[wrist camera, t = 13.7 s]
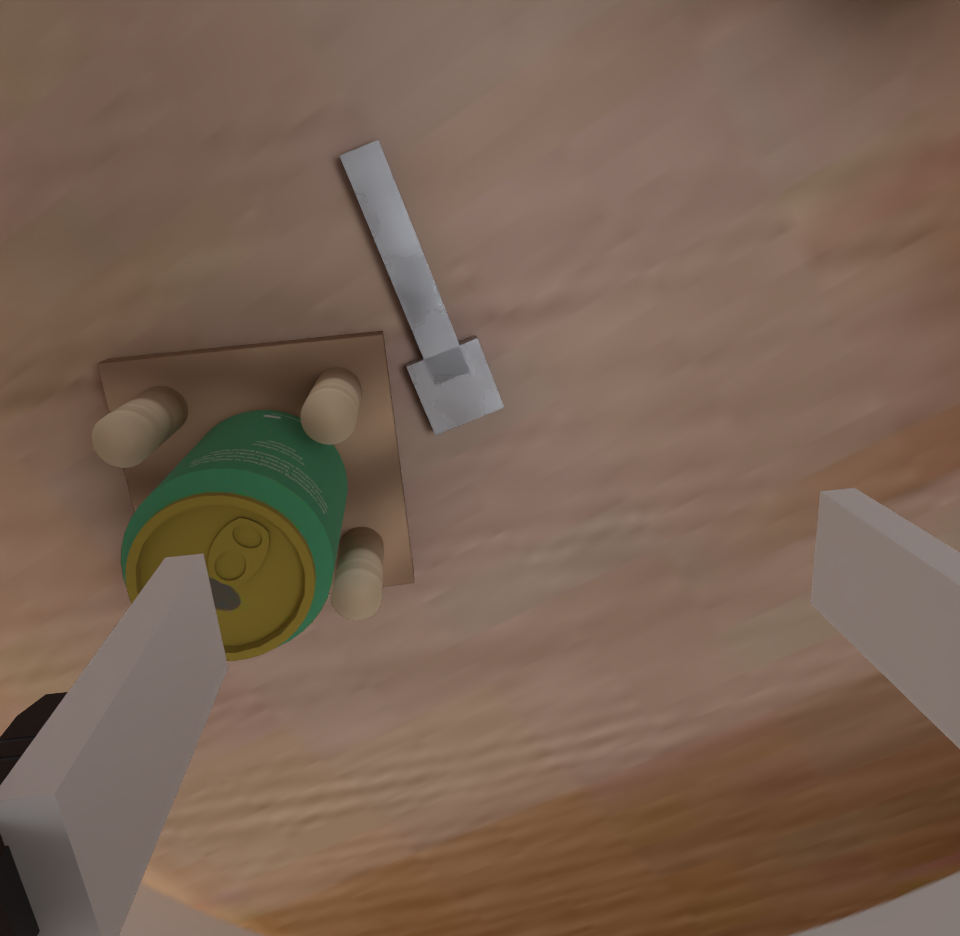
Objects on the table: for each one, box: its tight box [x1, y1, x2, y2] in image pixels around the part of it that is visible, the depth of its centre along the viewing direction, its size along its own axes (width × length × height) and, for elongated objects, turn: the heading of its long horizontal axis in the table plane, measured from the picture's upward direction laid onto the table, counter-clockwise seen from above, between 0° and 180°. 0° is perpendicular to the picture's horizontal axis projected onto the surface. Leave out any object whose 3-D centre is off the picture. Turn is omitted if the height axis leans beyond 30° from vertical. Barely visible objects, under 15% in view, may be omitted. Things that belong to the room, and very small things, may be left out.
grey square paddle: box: [340, 140, 504, 435], centre depth 38 cm, size 14×4×1 cm, turn 21°
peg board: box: [91, 331, 414, 620], centre depth 36 cm, size 14×14×8 cm
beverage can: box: [121, 410, 348, 661], centre depth 33 cm, size 8×8×12 cm
